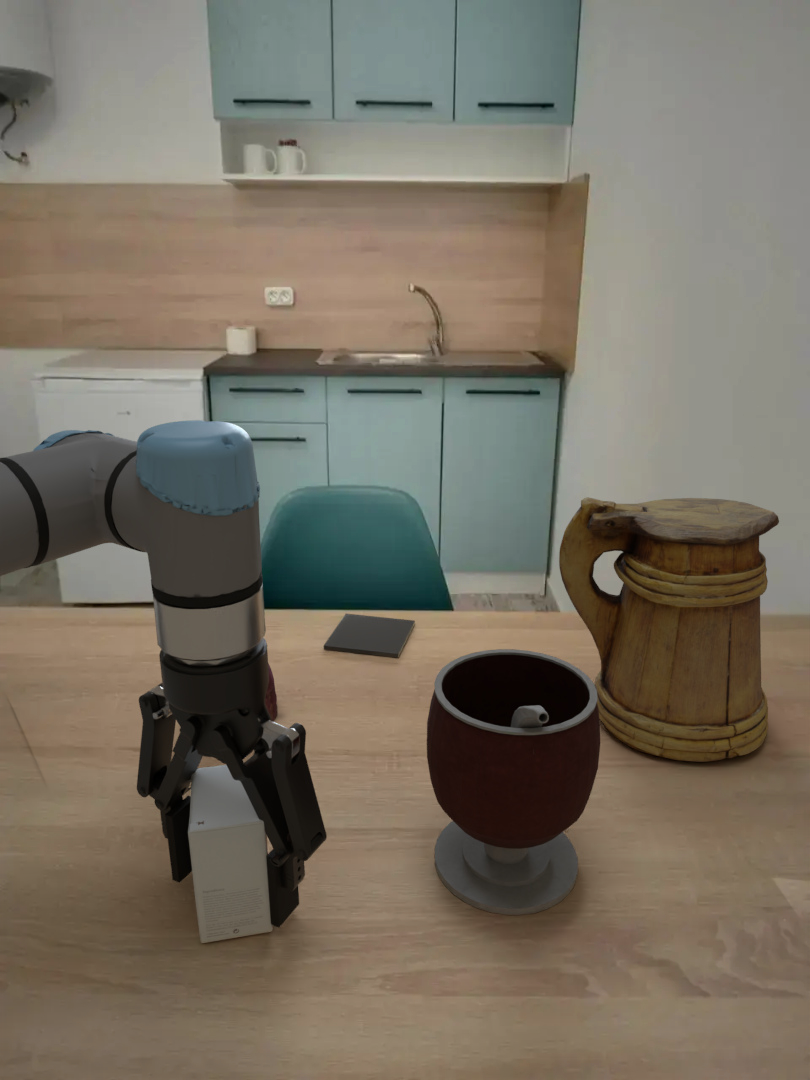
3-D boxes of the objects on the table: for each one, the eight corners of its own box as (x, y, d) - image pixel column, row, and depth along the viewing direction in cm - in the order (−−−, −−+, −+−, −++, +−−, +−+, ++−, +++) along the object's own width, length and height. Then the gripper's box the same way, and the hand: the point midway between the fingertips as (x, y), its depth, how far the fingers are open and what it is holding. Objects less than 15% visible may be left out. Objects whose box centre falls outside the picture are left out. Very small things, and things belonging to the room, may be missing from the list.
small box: (273, 934, 64) (266, 822, 60) (199, 946, 63) (186, 832, 59) (267, 862, 71) (261, 758, 68) (201, 871, 70) (190, 766, 67)
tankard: (787, 774, 83) (832, 541, 74) (550, 754, 86) (566, 527, 78) (745, 683, 100) (777, 484, 91) (547, 669, 103) (561, 475, 94)
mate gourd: (417, 812, 77) (418, 618, 70) (562, 804, 79) (578, 613, 72) (438, 945, 63) (443, 718, 56) (616, 933, 64) (642, 709, 57)
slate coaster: (323, 649, 108) (323, 645, 108) (345, 617, 117) (345, 613, 117) (398, 658, 106) (398, 653, 106) (414, 624, 115) (414, 620, 115)
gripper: (373, 654, 57) (376, 909, 65) (137, 593, 67) (164, 821, 75) (312, 705, 51) (323, 980, 59) (62, 630, 61) (100, 875, 68)
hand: (234, 891), depth 67 cm, fingers closed on small box, 9 cm apart
